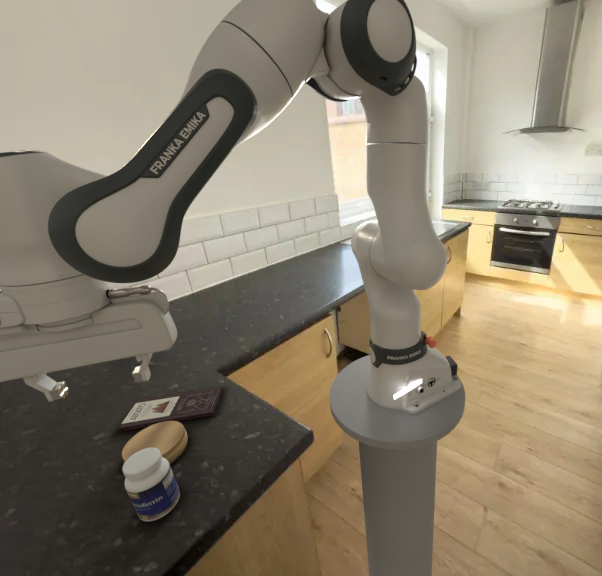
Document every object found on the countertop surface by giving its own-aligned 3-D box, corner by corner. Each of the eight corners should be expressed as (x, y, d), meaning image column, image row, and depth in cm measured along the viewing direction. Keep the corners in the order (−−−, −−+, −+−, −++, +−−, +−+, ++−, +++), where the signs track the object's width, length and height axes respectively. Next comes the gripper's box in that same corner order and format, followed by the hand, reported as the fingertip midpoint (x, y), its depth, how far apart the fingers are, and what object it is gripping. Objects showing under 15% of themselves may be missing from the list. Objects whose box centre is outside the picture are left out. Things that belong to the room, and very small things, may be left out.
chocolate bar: (212, 412, 69) (117, 428, 65) (213, 415, 69) (119, 432, 66) (222, 386, 77) (138, 399, 73) (223, 389, 77) (140, 402, 74)
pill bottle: (131, 527, 48) (108, 481, 44) (148, 492, 53) (128, 448, 50) (173, 517, 49) (154, 472, 46) (186, 484, 54) (169, 440, 51)
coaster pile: (192, 424, 67) (188, 413, 66) (185, 463, 58) (181, 451, 57) (134, 441, 63) (129, 429, 62) (117, 485, 55) (111, 473, 53)
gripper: (167, 275, 45) (192, 358, 50) (-29, 300, 38) (22, 393, 43) (156, 291, 39) (184, 382, 44) (-76, 322, 33) (-12, 426, 38)
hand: (103, 388), depth 44 cm, fingers open, 8 cm apart
